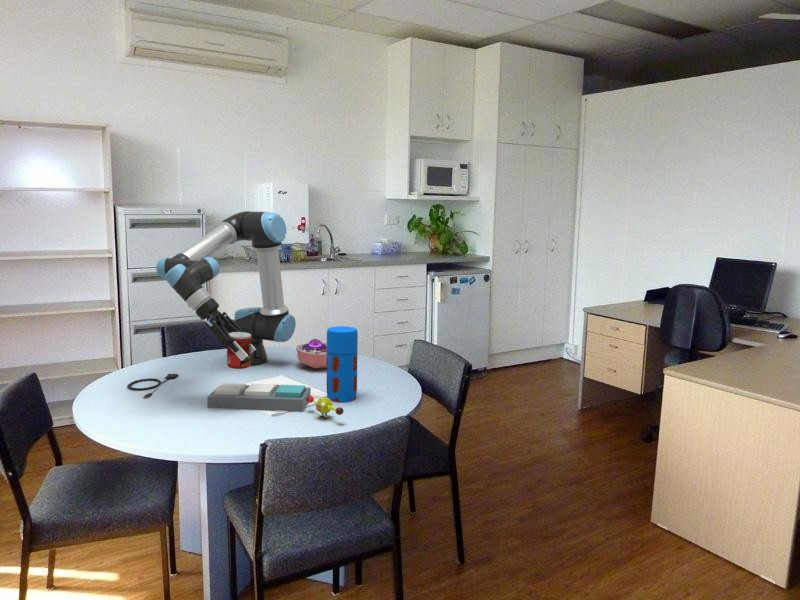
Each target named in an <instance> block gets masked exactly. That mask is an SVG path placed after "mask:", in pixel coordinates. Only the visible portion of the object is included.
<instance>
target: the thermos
mask: <svg viewBox="0 0 800 600" xmlns="http://www.w3.org/2000/svg"><path fill="white" fill-rule="evenodd" d="M358 337H359V335H358V328H356V327H354V326H345V325H344V326H343V325H341V326H340V325H337V326H330V327H328V328H327V332H326V344H327V367H326V397H327V398H329V399H330V400H331V402H335V403H348V402H352V401H355V400H357V395H358V394H357V393H358V392H357V391H358V350H359V349H358V344H359V343H358V339H359V338H358Z"/></svg>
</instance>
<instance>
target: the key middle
mask: <svg viewBox="0 0 800 600" xmlns="http://www.w3.org/2000/svg"><path fill="white" fill-rule="evenodd" d="M249 385H250V386H249V387H248V388H247V389H246V390H245V396H271V395H272V394H273V392H274V391H275V390H276V385H277V384H276V383H275V384H272V383H251V384H249Z"/></svg>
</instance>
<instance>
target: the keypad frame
mask: <svg viewBox="0 0 800 600" xmlns="http://www.w3.org/2000/svg"><path fill="white" fill-rule="evenodd" d="M250 385H251V384H246V389H247V388H248V387H249V386H250ZM280 386H281V385H277V386H276V390H275V391H274V392H273V394H272V395H271V396H245V390H246V389H245V390H244V391H243V392H242V393H241V394H240V395H215V394H214V390H213V391H212V392H211V393H210V394H209V395H207V396H206V397H207V402H206V403H207V409H223V410H224V409H226V410H228V409H229V410H251V411H253V410H255V411H276V410H286V411H285V412H304V410H305V409H306V407H307V405H308V404H309V402H307V400H306V398H307V397H308V396H310V395H311V396H312V394H311V390H312V389H311V387H308V386H305V392H304V394H303V396H302V397H301V398H298V397H275V392H276V391H277V389H278V388H279V387H280Z"/></svg>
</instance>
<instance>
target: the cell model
mask: <svg viewBox="0 0 800 600" xmlns="http://www.w3.org/2000/svg"><path fill="white" fill-rule="evenodd" d="M295 348H296V355H297V360H298V362H299V363H300V364H302V365H305V366H308V367H310V368H312V369H317V370H318V369H325V368H326V369H327V342H326V343H324V342H322V341H321V340H319V339H317V338H312V339H311V340H310V341H309V342H307V343H304V344H299V345H296V347H295Z"/></svg>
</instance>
